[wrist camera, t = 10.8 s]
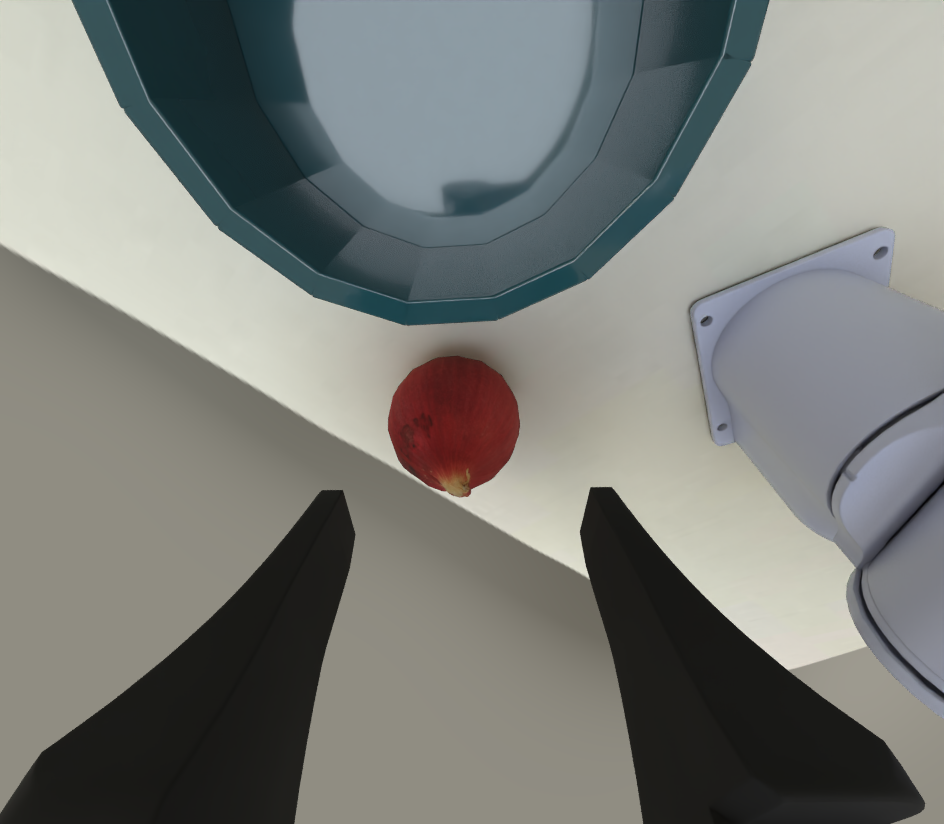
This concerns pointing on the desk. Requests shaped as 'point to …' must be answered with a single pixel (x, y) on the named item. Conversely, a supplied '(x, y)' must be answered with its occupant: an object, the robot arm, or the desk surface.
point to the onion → (454, 423)
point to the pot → (428, 133)
